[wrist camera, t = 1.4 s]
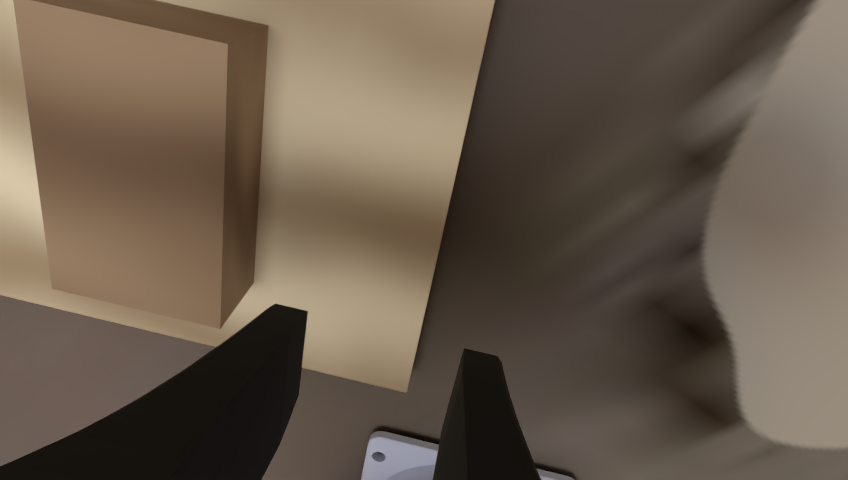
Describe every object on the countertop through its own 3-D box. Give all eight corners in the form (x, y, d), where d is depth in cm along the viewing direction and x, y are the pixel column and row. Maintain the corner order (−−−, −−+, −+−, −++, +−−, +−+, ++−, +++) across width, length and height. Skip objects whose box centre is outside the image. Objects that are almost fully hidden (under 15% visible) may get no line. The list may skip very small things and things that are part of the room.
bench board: (412, 370, 22) (406, 393, 21) (-221, 218, 23) (-257, 232, 22) (509, -61, 15) (507, -58, 14) (-394, -252, 16) (-458, -263, 15)
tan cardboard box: (253, 282, 20) (220, 329, 18) (103, 247, 20) (51, 288, 18) (268, 25, 16) (228, 44, 14) (81, -16, 16) (12, -4, 14)
